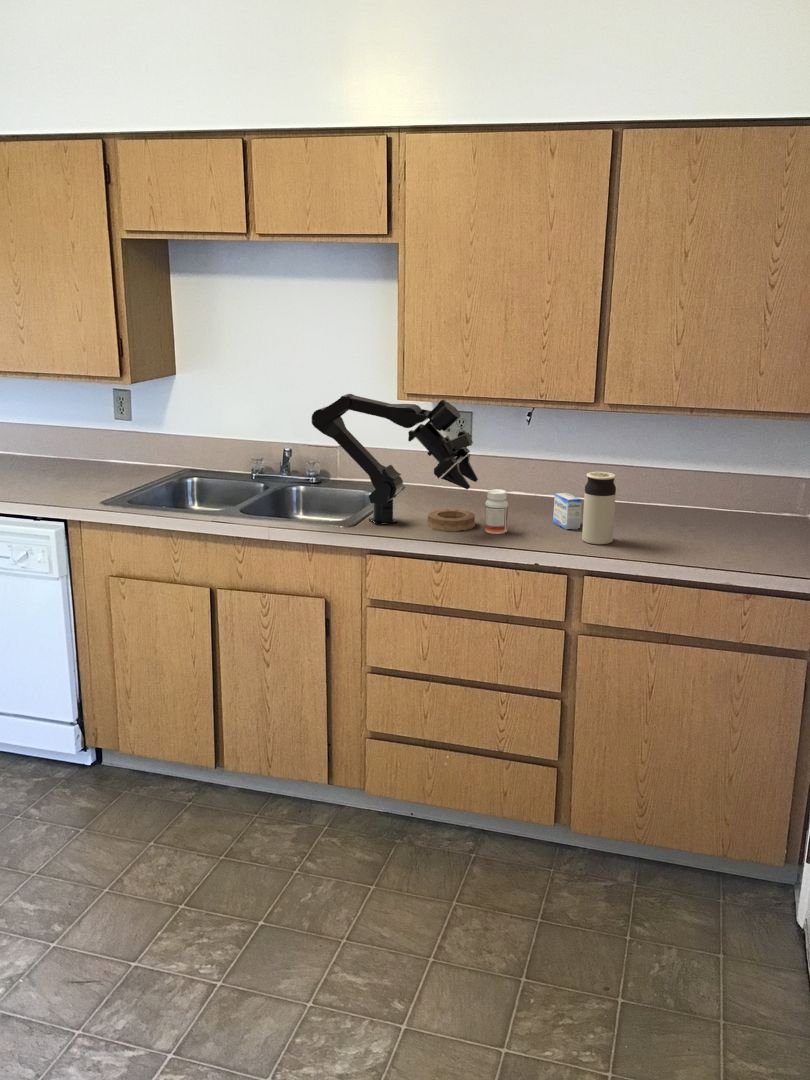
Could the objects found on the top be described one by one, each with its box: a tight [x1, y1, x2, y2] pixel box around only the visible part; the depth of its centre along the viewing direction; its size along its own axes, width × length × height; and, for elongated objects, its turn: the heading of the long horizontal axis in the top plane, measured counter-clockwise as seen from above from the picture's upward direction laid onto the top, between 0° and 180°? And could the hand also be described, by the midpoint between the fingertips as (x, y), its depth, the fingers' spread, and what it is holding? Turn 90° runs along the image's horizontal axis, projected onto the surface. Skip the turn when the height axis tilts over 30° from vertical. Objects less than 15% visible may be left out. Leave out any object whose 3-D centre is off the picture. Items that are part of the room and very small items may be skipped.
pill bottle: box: [484, 489, 509, 535], centre depth 273 cm, size 6×6×11 cm
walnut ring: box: [427, 508, 476, 532], centre depth 281 cm, size 13×13×3 cm
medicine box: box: [552, 492, 583, 530], centre depth 279 cm, size 8×4×9 cm, turn 21°
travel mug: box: [581, 471, 617, 545], centre depth 264 cm, size 8×8×18 cm
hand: (472, 484), depth 273 cm, fingers open, 9 cm apart
